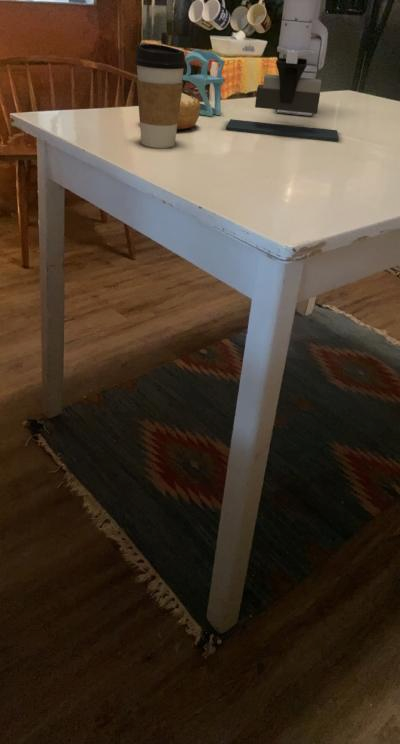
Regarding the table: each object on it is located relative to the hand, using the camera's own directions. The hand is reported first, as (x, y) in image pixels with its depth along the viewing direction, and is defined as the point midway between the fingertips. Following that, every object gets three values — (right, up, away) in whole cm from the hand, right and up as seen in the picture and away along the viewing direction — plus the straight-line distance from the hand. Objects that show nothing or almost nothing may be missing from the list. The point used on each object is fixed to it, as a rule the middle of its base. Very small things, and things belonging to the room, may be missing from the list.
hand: (286, 100), depth 118 cm
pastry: (-23, -5, 0) cm, 24 cm away
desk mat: (0, -5, +3) cm, 6 cm away
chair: (-16, +4, +14) cm, 22 cm away
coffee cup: (-24, -13, -12) cm, 30 cm away
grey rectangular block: (0, -1, +1) cm, 1 cm away
